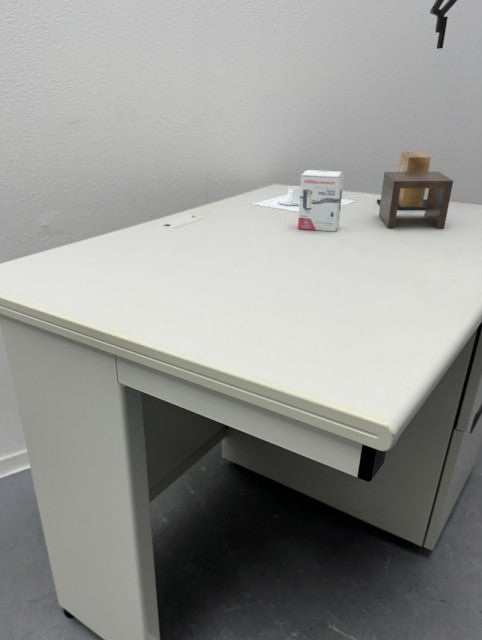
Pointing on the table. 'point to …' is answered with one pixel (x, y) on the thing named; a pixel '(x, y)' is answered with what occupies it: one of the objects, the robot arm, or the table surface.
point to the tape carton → (413, 164)
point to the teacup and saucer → (290, 200)
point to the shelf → (432, 180)
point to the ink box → (320, 200)
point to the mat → (409, 207)
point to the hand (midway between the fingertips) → (468, 47)
